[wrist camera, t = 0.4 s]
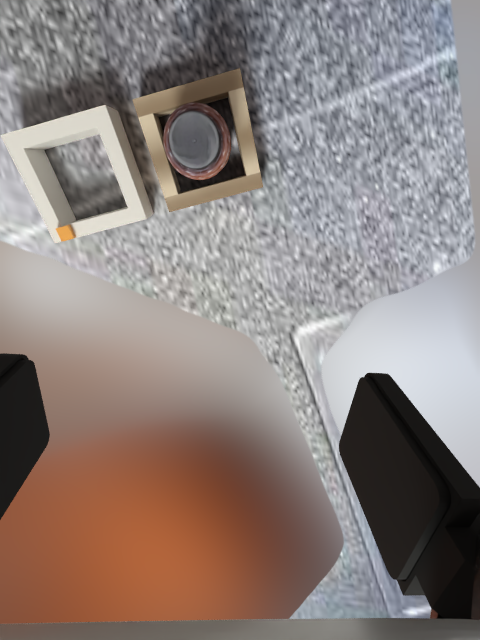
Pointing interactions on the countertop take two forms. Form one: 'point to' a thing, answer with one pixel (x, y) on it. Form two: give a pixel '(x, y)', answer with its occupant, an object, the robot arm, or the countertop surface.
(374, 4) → the countertop surface
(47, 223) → the socket block
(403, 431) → the robot arm
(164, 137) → the supplement bottle
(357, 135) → the countertop surface
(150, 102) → the block
